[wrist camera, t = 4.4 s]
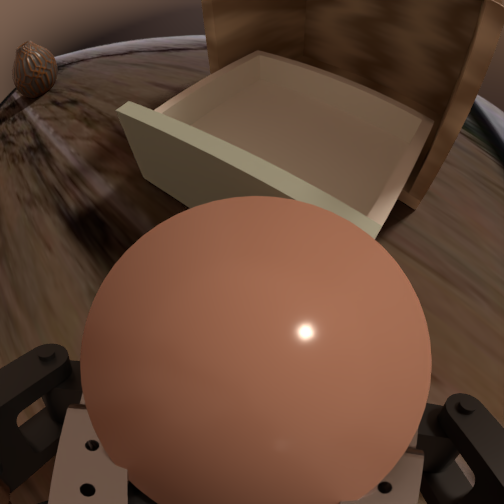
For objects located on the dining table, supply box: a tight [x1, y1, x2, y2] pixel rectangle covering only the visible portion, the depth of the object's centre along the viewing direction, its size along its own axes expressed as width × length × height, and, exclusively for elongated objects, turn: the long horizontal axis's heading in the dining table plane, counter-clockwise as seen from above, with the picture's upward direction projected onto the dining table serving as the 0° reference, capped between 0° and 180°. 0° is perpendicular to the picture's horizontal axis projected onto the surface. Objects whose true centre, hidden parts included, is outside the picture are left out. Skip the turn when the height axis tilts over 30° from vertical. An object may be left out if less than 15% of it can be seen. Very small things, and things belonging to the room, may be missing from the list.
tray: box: [116, 50, 434, 240], centre depth 17 cm, size 15×13×6 cm
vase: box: [12, 40, 57, 98], centre depth 28 cm, size 7×7×9 cm
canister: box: [80, 196, 432, 504], centre depth 9 cm, size 6×6×11 cm
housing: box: [201, 0, 504, 210], centre depth 17 cm, size 18×14×16 cm
